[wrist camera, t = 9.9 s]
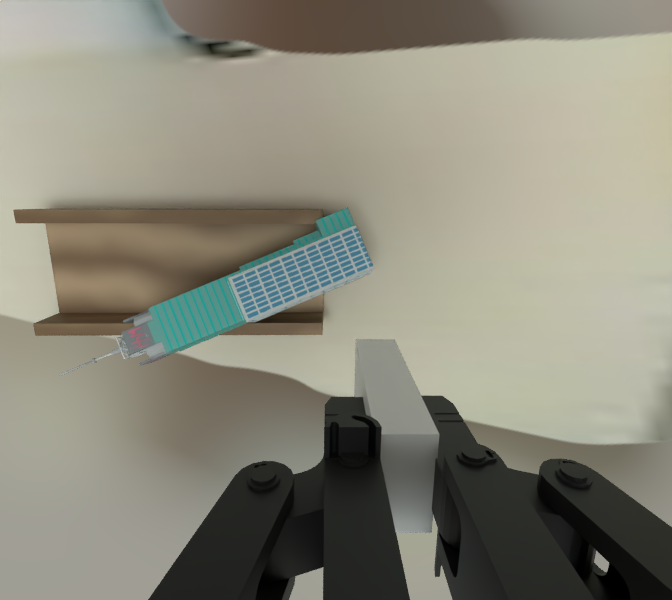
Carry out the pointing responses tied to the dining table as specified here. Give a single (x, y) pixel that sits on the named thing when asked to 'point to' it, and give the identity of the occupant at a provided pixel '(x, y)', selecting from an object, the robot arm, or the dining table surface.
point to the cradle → (161, 262)
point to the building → (251, 291)
